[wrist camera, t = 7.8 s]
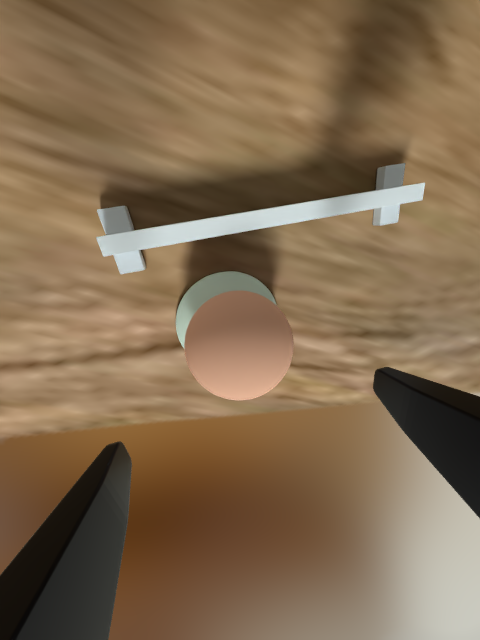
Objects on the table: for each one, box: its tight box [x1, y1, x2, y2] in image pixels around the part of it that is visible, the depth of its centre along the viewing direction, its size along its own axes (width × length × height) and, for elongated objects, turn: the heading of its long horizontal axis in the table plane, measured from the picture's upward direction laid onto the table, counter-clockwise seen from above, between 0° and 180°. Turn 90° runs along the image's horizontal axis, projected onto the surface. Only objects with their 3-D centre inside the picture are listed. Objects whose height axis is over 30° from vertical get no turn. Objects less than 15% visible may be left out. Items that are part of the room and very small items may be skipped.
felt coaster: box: [176, 271, 276, 349], centre depth 15 cm, size 6×6×1 cm
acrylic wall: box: [96, 163, 425, 274], centre depth 12 cm, size 16×3×2 cm, turn 99°
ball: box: [184, 290, 294, 400], centre depth 12 cm, size 6×6×6 cm
